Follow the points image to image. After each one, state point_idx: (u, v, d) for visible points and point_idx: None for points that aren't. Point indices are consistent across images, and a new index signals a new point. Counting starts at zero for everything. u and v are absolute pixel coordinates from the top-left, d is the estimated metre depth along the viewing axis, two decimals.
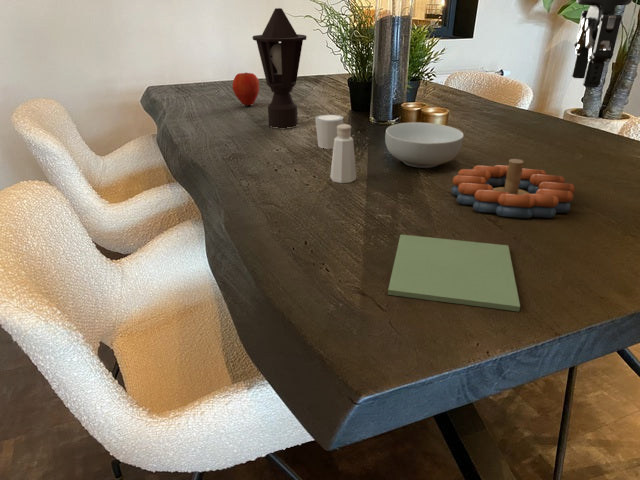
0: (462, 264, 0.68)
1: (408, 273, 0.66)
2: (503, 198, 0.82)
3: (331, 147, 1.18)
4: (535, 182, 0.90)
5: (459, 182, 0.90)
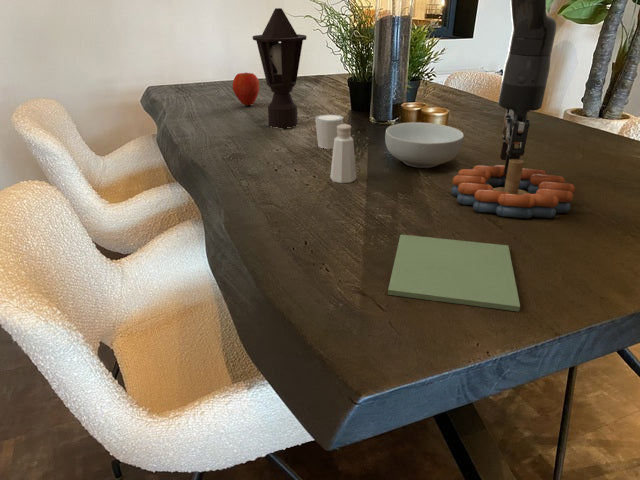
0: (462, 264, 0.68)
1: (408, 273, 0.66)
2: (503, 198, 0.82)
3: (331, 147, 1.18)
4: (535, 182, 0.90)
5: (459, 182, 0.90)
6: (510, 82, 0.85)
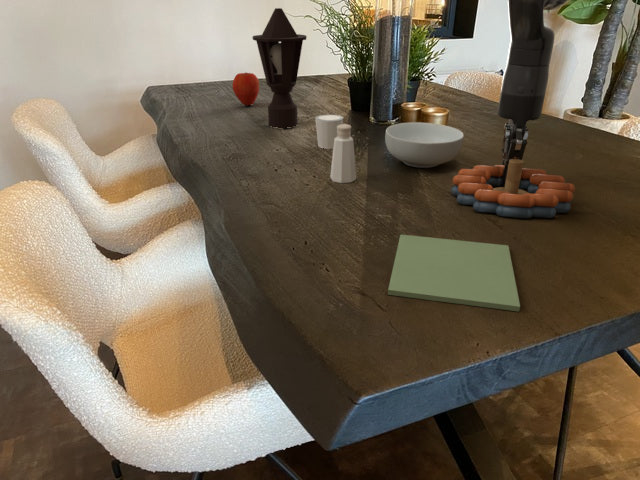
0: (462, 264, 0.68)
1: (408, 273, 0.66)
2: (503, 198, 0.82)
3: (331, 147, 1.18)
4: (534, 181, 0.90)
5: (459, 182, 0.90)
6: (509, 92, 0.86)
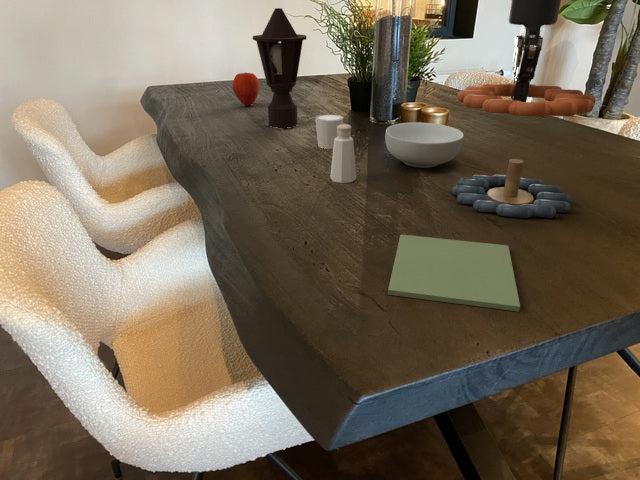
0: (462, 264, 0.68)
1: (408, 273, 0.66)
2: (515, 106, 0.72)
3: (331, 147, 1.18)
4: (549, 97, 0.81)
5: (465, 97, 0.80)
6: None
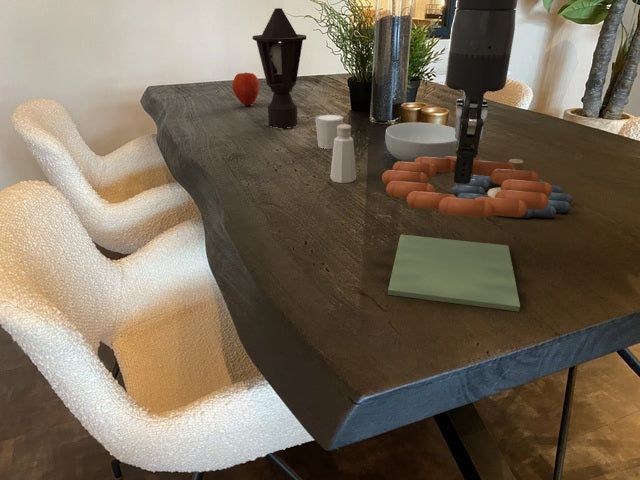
0: (462, 264, 0.68)
1: (408, 273, 0.66)
2: (446, 204, 0.55)
3: (331, 147, 1.18)
4: (497, 180, 0.64)
5: (390, 180, 0.63)
6: (458, 50, 0.59)
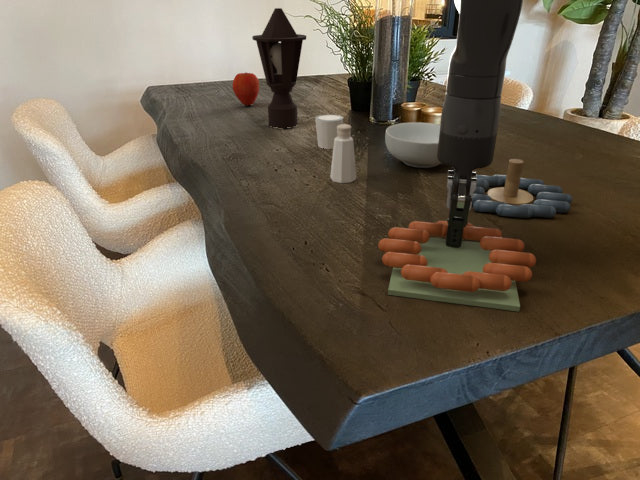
0: (462, 264, 0.68)
1: None
2: (437, 279, 0.60)
3: (331, 147, 1.18)
4: (485, 247, 0.69)
5: (386, 248, 0.68)
6: (448, 132, 0.64)
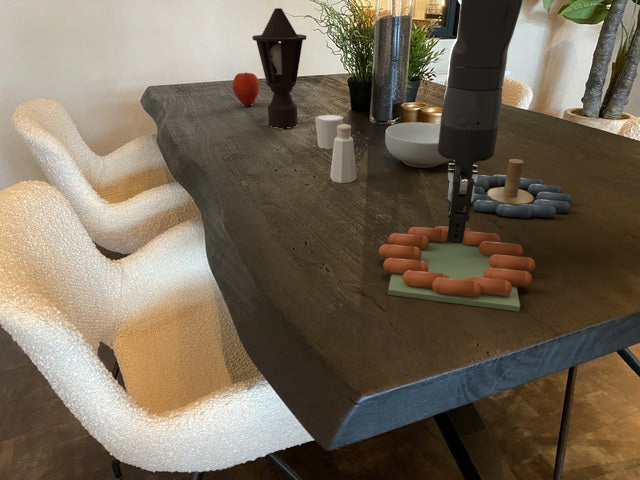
0: (462, 264, 0.68)
1: None
2: (438, 285, 0.61)
3: (331, 147, 1.18)
4: (485, 252, 0.69)
5: (387, 254, 0.68)
6: (449, 124, 0.64)
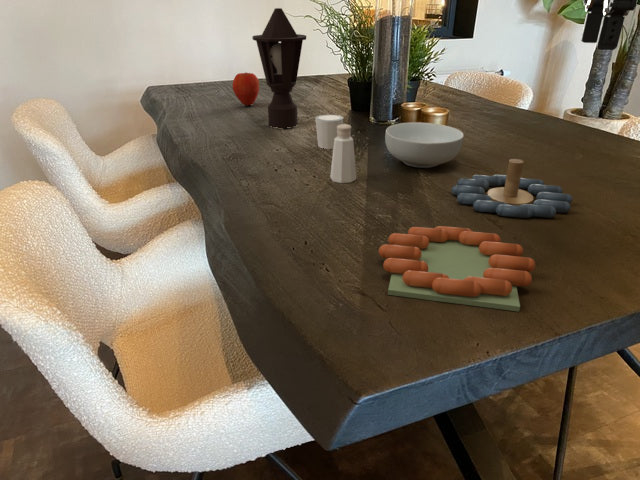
0: (462, 264, 0.68)
1: None
2: (438, 285, 0.61)
3: (331, 147, 1.18)
4: (485, 252, 0.69)
5: (387, 254, 0.68)
6: None
